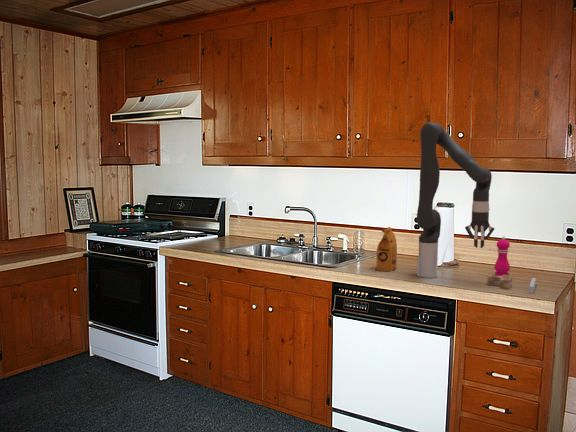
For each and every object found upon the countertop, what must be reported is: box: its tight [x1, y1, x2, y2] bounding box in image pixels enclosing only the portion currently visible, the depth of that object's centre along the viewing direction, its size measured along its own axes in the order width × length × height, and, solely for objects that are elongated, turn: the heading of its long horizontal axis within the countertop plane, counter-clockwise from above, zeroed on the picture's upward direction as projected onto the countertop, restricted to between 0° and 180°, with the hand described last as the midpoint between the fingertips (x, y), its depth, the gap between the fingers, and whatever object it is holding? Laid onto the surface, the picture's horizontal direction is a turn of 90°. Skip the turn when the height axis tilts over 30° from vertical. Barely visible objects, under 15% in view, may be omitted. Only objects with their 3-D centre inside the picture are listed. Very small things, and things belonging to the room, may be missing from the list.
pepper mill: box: [494, 236, 511, 276], centre depth 275 cm, size 7×7×20 cm
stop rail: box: [528, 277, 537, 294], centre depth 252 cm, size 2×18×3 cm, turn 153°
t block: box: [486, 274, 513, 290], centre depth 258 cm, size 10×12×4 cm
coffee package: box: [375, 226, 398, 273], centre depth 292 cm, size 10×12×22 cm
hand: (479, 247), depth 260 cm, fingers closed
